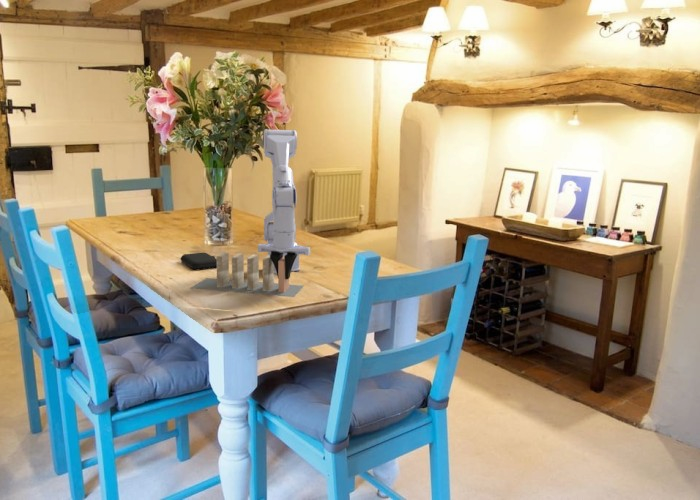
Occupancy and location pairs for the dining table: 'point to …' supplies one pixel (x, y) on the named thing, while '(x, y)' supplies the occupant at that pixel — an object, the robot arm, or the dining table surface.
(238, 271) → the ivory domino
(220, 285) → the beige wooden block
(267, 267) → the wooden block
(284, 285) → the terracotta domino
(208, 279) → the slate runway mat
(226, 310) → the dining table surface
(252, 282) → the wooden block
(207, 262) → the carrying case or bag
